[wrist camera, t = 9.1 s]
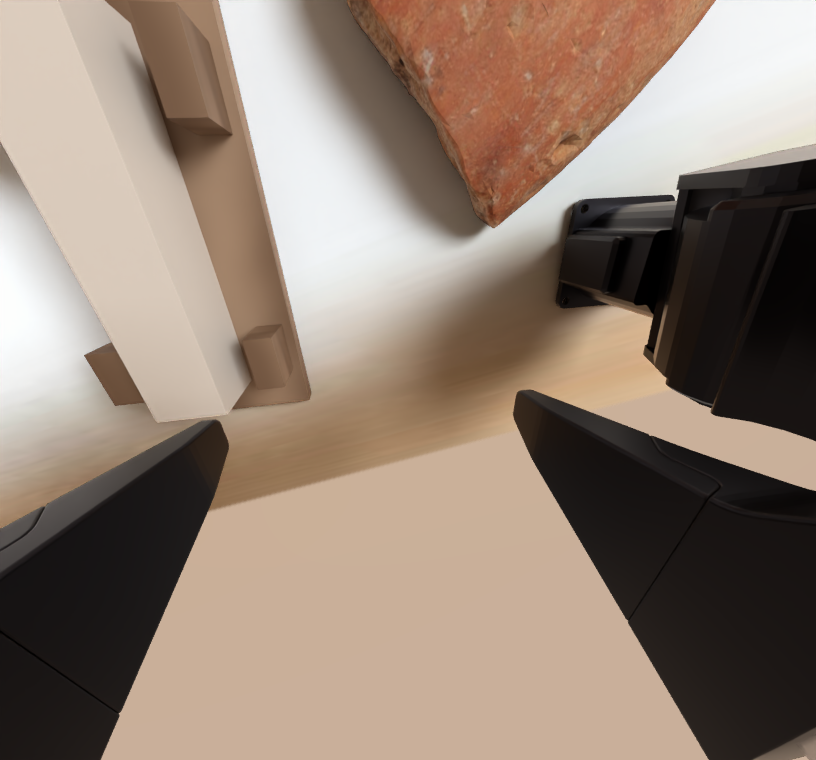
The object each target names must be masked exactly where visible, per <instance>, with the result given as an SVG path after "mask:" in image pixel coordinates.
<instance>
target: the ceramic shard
mask: <svg viewBox="0 0 816 760" xmlns="http://www.w3.org/2000/svg"><path fill="white" fill-rule="evenodd" d="M715 1H716V0H347V3H348V5H349V8H350V11H351V13H352V14H353V16H354V18H355V20H356V21H357V23H358V24H359V26H360V27H361V29H362V30H363V31H364V32H365V33H366V35H367V36H368V38H369V39H370V41H371V42H372V43H373V44H374V46H375V47H376V48H377V50H378V51H379V52H380V54H381V55H382V56H383V57H384V59H385V60H386V61H387V62H388V64H389V66H390V67H391V69H392V71H393V72H394V74H395V75H396V76H397V77H398V78H399V79H400V80H401V81H402V83H403V84H404V85H405V87H406V88H407V90H408V93H409V95H411V96H413V97H415V98H416V100H417V102H418V103H419V104H420V106H421V107H422V108H423V109H424V111H425V112H426V113H427V114H428V115H429V117H430V118H431V120H432V122H433V123H434V125H435V126H436V129H437V134H438V138H439V140H440V142H441V144H442V147H443V149H444V151H445V153H446V155H447V156H448V158H449V159H450V161H451V163H452V165H453V166H454V167H455V169H456V170H457V171H458V173H459V175H460V176H461V178H462V179H463V180H464V181H465V182H466V184H467V190H468V193H469V196H470V199H471V202H472V205H473V209H474V212H475V213H476V215H477V216H478V217H479V218H480V219H481V220H482V221H483V222H484V223H486V224H487V225H489V226H491V227H492V228H495V227H497V226H498V225H499V224H500V223H502V222H503V221H504V220H505V219H506V218H508V217H509V216H510V215H511V214H512V213H513V212H515V211H516V210H517V209H518V208H520V207H521V206H522V205H523V204H524V203H526V202H527V201H528V200H529V199H530V198H532V197H533V196H534V195H535V194H536V193H538V192H539V191H540V190H541V189H542V188H543V187H544V186H545V185H546V184H547V183H548V182H549V181H551V180H552V179H553V178H554V177H555V176H556V175H557V174H559V173H560V172H561V171H562V170H563V169H564V168H565V167H566V166H567V165H568V164H569V163H570V162H571V161H572V160H573V159H575V158H576V157H577V156H578V155H579V154H580V153H581V152H582V151H583V150H584V149H585V148H586V147H588V146H589V145H590V144H591V142H592V141H593V140H594V139H595V138H596V137H597V136H598V135H599V134H600V133H601V132H602V131H603V130H604V129H605V128H606V127H607V126H609V125H610V124H611V123H612V122H613V121H614V120H615V119H616V118H617V117H618V116H619V115H620V114H621V112H622V111H623V110H624V109H625V108H626V107H627V106H628V105H629V104H630V103H631V102H632V101H633V99H634V98H635V97H636V96H637V95H638V94H639V93H640V92H641V91H642V89H643V88H644V87H645V86H646V85H647V84H648V82H649V81H650V80H651V79H652V78H653V76H654V75H655V74H656V73H657V72H658V71H659V70H660V69H661V68H662V67H663V66H664V65H665V64H666V63H667V61H668V60H669V59H670V58H671V57H672V56H673V55H674V53H675V52H676V51H677V50H678V48H679V47H680V46H681V45H682V44H683V42H684V41H685V40H686V39H687V37H688V36H689V35H690V34H691V32H692V31H693V30H694V29H695V27H696V26H697V25H698V24H699V22H700V21H701V20H702V18H703V17H704V16H705V14H706V13H707V11H708V10H709V9H710V7H711V6H712V5H713V3H714V2H715Z"/></svg>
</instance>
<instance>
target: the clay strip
mask: <svg viewBox="0 0 816 760" xmlns="http://www.w3.org/2000/svg"><path fill="white" fill-rule="evenodd" d="M0 142H1V144H2V145H3V147H4V149H5V151H6V153H7V154H8V156H9V158H10V160H11V162H12V163H13V165H14V167H15V169H16V171H17V172H18V174H19V176H20V178H21V180H22V181H23V183H24V185H25V187H26V189H27V190H28V192H29V194H30V196H31V198H32V199H33V201H34V203H35V205H36V207H37V208H38V210H39V212H40V214H41V216H42V217H43V219H44V221H45V223H46V225H47V226H48V228H49V230H50V232H51V234H52V235H53V237H54V239H55V241H56V243H57V244H58V246H59V248H60V250H61V252H62V253H63V255H64V257H65V259H66V261H67V262H68V264H69V266H70V268H71V270H72V271H73V273H74V275H75V277H76V279H77V280H78V282H79V284H80V286H81V288H82V289H83V291H84V293H85V295H86V297H87V298H88V300H89V302H90V304H91V306H92V307H93V309H94V311H95V313H96V315H97V316H98V318H99V320H100V322H101V324H102V325H103V327H104V329H105V331H106V333H107V334H108V336H109V338H110V340H111V342H112V343H113V345H114V347H115V349H116V351H117V352H118V354H119V356H120V358H121V360H122V361H123V363H124V365H125V367H126V369H127V370H128V372H129V374H130V376H131V378H132V379H133V381H134V383H135V385H136V387H137V388H138V390H139V392H140V394H141V396H142V397H143V399H144V401H145V403H146V405H147V406H148V408H149V410H150V412H151V414H152V415H153V417H154V419H155V421H156V423H161V422H169V421H178V420H187V419H195V418H204V417H213V416H221V415H228V413H229V412H230V411H231V409H232V408H233V406H234V405H235V403H236V402H237V400H238V399H239V398H240V396H241V395H242V393H243V392H244V390H245V389H246V388H247V386H248V385H249V383H250V382H251V377H250V374H249V371H248V368H247V365H246V362H245V359H244V356H243V353H242V350H241V347H240V344H239V341H238V338H237V335H236V332H235V329H234V327H233V324H232V321H231V318H230V315H229V312H228V309H227V306H226V303H225V300H224V297H223V294H222V291H221V288H220V285H219V282H218V279H217V276H216V273H215V271H214V268H213V265H212V262H211V259H210V256H209V253H208V250H207V247H206V244H205V241H204V238H203V235H202V232H201V229H200V226H199V223H198V220H197V217H196V215H195V212H194V209H193V206H192V203H191V200H190V197H189V194H188V191H187V188H186V185H185V182H184V179H183V176H182V173H181V170H180V167H179V164H178V161H177V158H176V156H175V153H174V150H173V147H172V144H171V141H170V138H169V135H168V132H167V129H166V126H165V123H164V120H163V117H162V114H161V111H160V108H159V105H158V102H157V100H156V97H155V94H154V91H153V88H152V85H151V82H150V79H149V76H148V73H147V70H146V67H145V64H144V61H143V58H142V55H141V52H140V49H139V46H138V44H137V41H136V38H135V35H134V32H133V29H132V26H131V23H130V22H128V21H127V20H126V19H125V18H124V17H123V16H122V15H120V14H119V13H118V12H117V11H116V10H115V9H114V8H113V7H111V6H110V5H109V4H108V3H107V2H106V1H105V0H0Z"/></svg>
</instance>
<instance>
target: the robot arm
mask: <svg viewBox="0 0 816 760" xmlns="http://www.w3.org/2000/svg"><path fill="white" fill-rule="evenodd" d="M676 190H679V194H678V199H677V201H675V198H674V197H673V195H658V196H638V197H618V198H598V199H583V200H579V201H578V202H577V203H576V204H575V205H574V207H573V211H572V216H571V222H570V227H569V232H568V238H567V239H566V243H565V249H564V254H563V259H562V265H561V270H560V276H559V279H560V280H559V286H558V291H557V296H556V305H557V306H558V307H560V308H575V307H586V306H597V305H608V304H610V305H613V306H617V307H620V308H623V309H626V310H629V311H632V312H635V313H639V314H642V315H645V316H648V317H651V318H653V320H652V325H651V330H650V335H649V339H648V344H647V345H645V348H644V353H643V355H644V356H645V357H646V358H647V359H648V360H649V361H650V362H651V363H652V364H653V365H654V366H655V367H656V368H657V369H658V370H659V371H660V372H661V373H662V374H663V376H665V377H666V378H667V379H666V385H667V386H669V387H670V388H671V389H673V390H675V391H676V392H678V393H680V394H682V395H684V396H686V397H688V398H690V399H692V400H693V401H696V402H697V403H699V404H701V405H704V406H707V407H709V408H712V409H711V413H712V414H713V415H715V416H720V417H726V418H732V419H738V420H745V421H750V422H754V423H759V424H762V425H766V426H770V427H774V428H778V429H782V430H785V431H788V432H791V433H794V434H797V435H800V436H803V437H806V438H809V439H812V440H814V441H816V144H813V145H808V146H803V147H797V148H792V149H787V150H782V151H777V152H773V153H769V154H765V155H760V156H756V157H752V158H748V159H744V160H740V161H736V162H732V163H728V164H724V165H719V166H715V167H711V168H707V169H703V170H699V171H695V172H691V173H687V174H683V175H679V180H678V184H677V189H676ZM583 205H584V211H583V212H582V213H581V207H582V206H583ZM564 298H566V301H565V302H564V303H562V301H563V299H564ZM513 416H514V420H515V422H516V425H517V427H518V429H519V431H520V434H521V436H522V438H523V440H524V443H525V445H526V447H527V449H528V452H529V454H530V456H531V458H532V460H533V462H534V463H535V465H536V467H537V469H538V470H539V472H540V474H541V475H542V477H543V479H544V480H545V482H546V484H547V485H548V487H549V489H550V491H551V492H552V494H553V496H554V497H555V499H556V501H557V503H558V504H559V506H560V508H561V509H562V511H563V513H564V514H565V516H566V518H567V519H568V521H569V523H570V525H571V526H572V528H573V530H574V531H575V533H576V535H577V536H578V538H579V540H580V542H581V543H582V545H583V547H584V548H585V550H586V552H587V554H588V555H589V557H590V558H591V560H592V562H593V563H594V565H595V567H596V569H597V570H598V572H599V574H600V576H601V577H602V579H603V581H604V582H605V584H606V586H607V587H608V589H609V591H610V593H611V594H612V596H613V598H614V599H615V601H616V603H617V604H618V606H619V608H620V610H621V611H622V613H623V615H624V616H625V618H626V619H627V620H628V624H629V625H630V627H631V628H632V630H633V632H634V634H635V636H636V637H637V639H638V640H639V642H640V644H641V646H642V647H643V649H644V651H645V652H646V654H647V656H648V657H649V659H650V661H651V662H652V664H653V666H654V668H655V669H656V671H657V673H658V674H659V676H660V678H661V680H662V681H663V683H664V685H665V686H666V688H667V690H668V692H669V693H670V695H671V697H672V698H673V700H674V702H675V703H676V705H677V706H678V708H679V710H680V712H681V714H682V715H683V717H684V718H685V720H686V722H687V724H688V725H689V727H690V729H691V730H692V732H693V734H694V736H695V737H696V739H697V741H698V742H699V744H700V746H701V747H702V749H703V751H704V752H705V754H706V756H707V758H708V759H709V760H791V759H796V758H800V757H804V756H806V757H807V758H808V759H809V760H816V491H813V490H809V489H806V488H802V487H799V486H796V485H793V484H789V483H787V482H784V481H781V480H778V479H774V478H771V477H769V476H766V475H763V474H760V473H757V472H754V471H751V470H748V469H745V468H742V467H739V466H736V465H733V464H730V463H727V462H724V461H721V460H718V459H715V458H712V457H709V456H706V455H703V454H700V453H698V452H695V451H692V450H689V449H686V448H684V447H681V446H678V445H676V444H673V443H670V442H667V441H665V440H662V439H659V438H657V437H654V436H649V435H648V434H646V433H644V432H641V431H638V430H636V429H633V428H631V427H628V426H625V425H622V424H620V423H617V422H615V421H612V420H610V419H607V418H604V417H602V416H599V415H596V414H594V413H591V412H589V411H586V410H583V409H581V408H578V407H575V406H573V405H570V404H568V403H565V402H562V401H560V400H557V399H554V398H552V397H549V396H547V395H544V394H541V393H539V392H536V391H534V390H521V391H518V392H517V394H516V399H515V405H514V411H513ZM228 450H229V443H228V440H227V437H226V435H225V433H224V430H223V428H222V425H221V423H220V422H219V421H218V420H206V421H201V422H199V423H197V424H195V425H193V426H191V427H189V428H187V429H186V430H184V431H182V432H180V433H178V434H176V435H174V436H173V437H171V438H169V439H167V440H165V441H163V442H161V443H160V444H158V445H156V446H154V447H152V448H150V449H148V450H146V451H145V452H143V453H141V454H139V455H137V456H135V457H133V458H132V459H130V460H128V461H126V462H124V463H122V464H120V465H119V466H117V467H115V468H113V469H111V470H109V471H107V472H106V473H104V474H102V475H100V476H98V477H96V478H94V479H93V480H91V481H89V482H87V483H85V484H83V485H81V486H80V487H78V488H76V489H74V490H72V491H70V492H68V493H67V494H65V495H63V496H61V497H59V498H57V499H55V500H53V501H52V502H50V503H48V504H47V505H46V507H40V508H38V509H37V510H35V511H33V512H31V513H29V514H27V515H25V516H24V517H22V518H20V519H18V520H16V521H14V522H12V523H10V524H8V525H7V526H5V527H3V528H1V529H0V760H101V758H102V755H103V753H104V750H105V748H106V746H107V744H108V741H109V739H110V737H111V735H112V732H113V730H114V728H115V725H116V723H117V720H118V718H119V714H118V713H120V712H121V711H122V708H123V706H124V704H125V701H126V699H127V696H128V695H129V692H130V690H131V688H132V685H133V683H134V681H135V678H136V676H137V674H138V671H139V669H140V666H141V665H142V662H143V660H144V658H145V655H146V653H147V650H148V648H149V646H150V644H151V641H152V639H153V637H154V635H155V632H156V630H157V628H158V625H159V623H160V621H161V618H162V616H163V614H164V612H165V609H166V607H167V605H168V602H169V600H170V598H171V595H172V593H173V591H174V588H175V586H176V584H177V582H178V579H179V577H180V575H181V572H182V570H183V568H184V565H185V563H186V561H187V558H188V556H189V554H190V551H191V549H192V547H193V545H194V542H195V540H196V538H197V535H198V533H199V531H200V528H201V526H202V524H203V522H204V519H205V517H206V515H207V512H208V510H209V508H210V505H211V503H212V500H213V498H214V495H215V492H216V489H217V486H218V483H219V479H220V476H221V473H222V470H223V466H224V463H225V460H226V457H227V453H228Z"/></svg>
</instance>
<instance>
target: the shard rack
mask: <svg viewBox="0 0 816 760" xmlns="http://www.w3.org/2000/svg"><path fill="white" fill-rule="evenodd" d="M105 1H106V2H107V3H108V4H109V5H110V6H111V7H113V8H114V9H115V10H116V11H117V12H118V13H119V14H120V15H122V16H123V17H124V18H125V19H126V20H127V21H128V22H130V23H131V26H132V29H133V32H134V35H135V38H136V41H137V44H138V46H139V49H140V52H141V55H142V58H143V61H144V64H145V67H146V70H147V73H148V76H149V79H150V82H151V85H152V88H153V91H154V94H155V97H156V100H157V102H158V105H159V108H160V111H161V114H162V117H163V120H164V123H165V126H166V129H167V132H168V135H169V138H170V141H171V144H172V147H173V150H174V153H175V156H176V158H177V161H178V164H179V167H180V170H181V173H182V176H183V179H184V182H185V185H186V188H187V191H188V194H189V197H190V200H191V203H192V206H193V209H194V212H195V215H196V217H197V220H198V223H199V226H200V229H201V232H202V235H203V238H204V241H205V244H206V247H207V250H208V253H209V256H210V259H211V262H212V265H213V268H214V271H215V273H216V276H217V279H218V282H219V285H220V288H221V291H222V294H223V297H224V300H225V303H226V306H227V309H228V312H229V315H230V318H231V321H232V324H233V327H234V329H235V332H236V335H237V338H238V341H239V344H240V347H241V350H242V353H243V356H244V359H245V362H246V365H247V368H248V371H249V374H250V377H251V382H250V383H249V385H248V386H247V388H246V389H245V390H244V392H243V393H242V395H241V396H240V398H239V399H238V400H237V402H236V403H235V405H234V406H233V408H232V409H237V408H246V407H254V406H263V405H272V404H280V403H289V402H298V401H307V400H309V399H310V396H311V390H310V385H309V381H308V377H307V373H306V369H305V364H304V360H303V356H302V352H301V348H300V343H299V339H298V335H297V331H296V326H295V322H294V318H293V314H292V310H291V305H290V301H289V297H288V293H287V288H286V284H285V280H284V276H283V272H282V267H281V263H280V259H279V255H278V250H277V246H276V242H275V238H274V234H273V229H272V225H271V221H270V217H269V213H268V208H267V204H266V200H265V196H264V191H263V187H262V183H261V179H260V175H259V170H258V166H257V162H256V158H255V153H254V149H253V145H252V141H251V137H250V132H249V128H248V124H247V120H246V115H245V111H244V107H243V103H242V99H241V94H240V90H239V86H238V82H237V78H236V73H235V69H234V65H233V61H232V56H231V52H230V48H229V44H228V40H227V35H226V31H225V27H224V23H223V18H222V14H221V10H220V6H219V2H218V0H105ZM2 146H3V145H2ZM7 155H8V154H7ZM12 164H13V163H12ZM17 173H18V172H17ZM22 182H23V181H22ZM27 191H28V190H27ZM32 200H33V199H32ZM37 209H38V208H37ZM42 218H43V217H42ZM47 227H48V226H47ZM84 356H85V358H86V359H87V361H88V363H89V364H90V366H91V367H92V369H93V371H94V372H95V374H96V375H97V377H98V379H99V380H100V382H101V384H102V385H103V387H104V388H105V390H106V392H107V393H108V395H109V397H110V398H111V400H112V401H113V403H114V405H115V406H117V405H126V404H136V403H145V401H144V399H143V397H142V396H141V394H140V392H139V390H138V388H137V387H136V385H135V383H134V381H133V379H132V378H131V376H130V374H129V372H128V370H127V369H126V367H125V365H124V363H123V361H122V360H121V358H120V356H119V354H118V352H117V351H116V349H115V347H114V345H113V343H112V342H111V343H109V344H107V345H105V346H103V347H100V348H98V349H96V350H94V351H92V352H90V353H88V354H86V355H84Z"/></svg>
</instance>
